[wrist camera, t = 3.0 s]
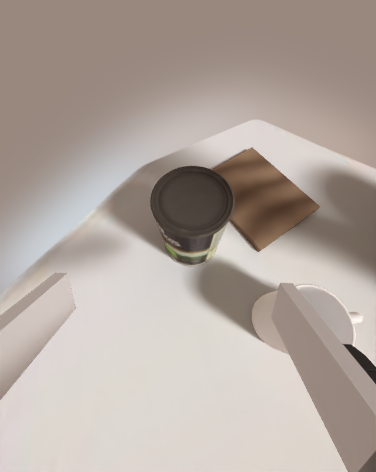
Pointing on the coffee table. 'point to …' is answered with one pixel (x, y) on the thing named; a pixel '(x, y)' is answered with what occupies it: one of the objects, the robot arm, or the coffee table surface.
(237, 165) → the walnut board
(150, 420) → the coffee table surface
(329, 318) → the cup
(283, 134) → the coffee table surface
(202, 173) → the coffee can
